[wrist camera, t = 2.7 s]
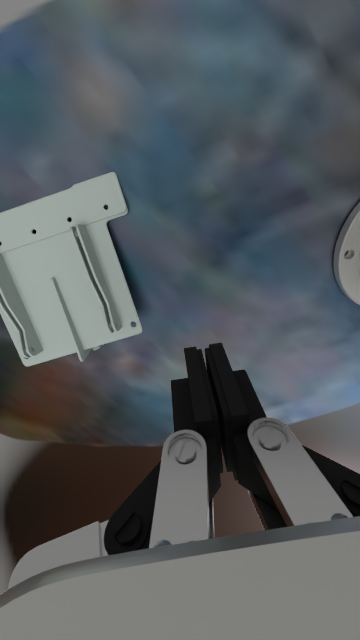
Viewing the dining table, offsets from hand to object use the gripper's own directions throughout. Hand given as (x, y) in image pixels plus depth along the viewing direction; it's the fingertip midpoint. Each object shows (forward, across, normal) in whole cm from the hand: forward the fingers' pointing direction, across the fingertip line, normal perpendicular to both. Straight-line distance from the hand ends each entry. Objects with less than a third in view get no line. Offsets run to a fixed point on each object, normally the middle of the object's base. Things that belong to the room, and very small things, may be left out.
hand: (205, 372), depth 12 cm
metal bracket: (+14, +10, -1) cm, 18 cm away
